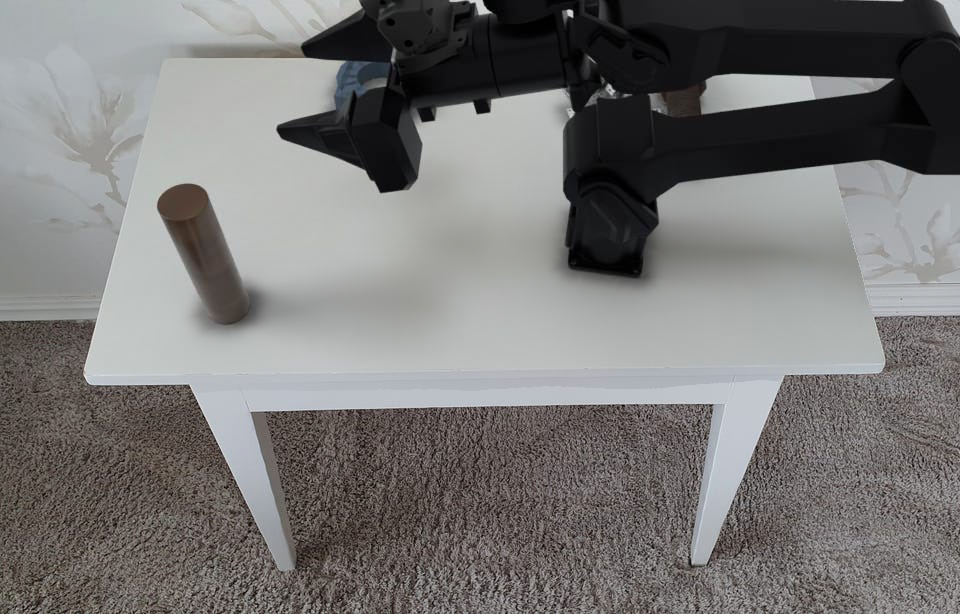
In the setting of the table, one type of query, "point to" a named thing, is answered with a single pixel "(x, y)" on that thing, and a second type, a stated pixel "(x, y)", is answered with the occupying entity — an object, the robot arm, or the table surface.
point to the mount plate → (357, 78)
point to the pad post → (204, 251)
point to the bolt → (684, 101)
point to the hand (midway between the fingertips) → (291, 89)
